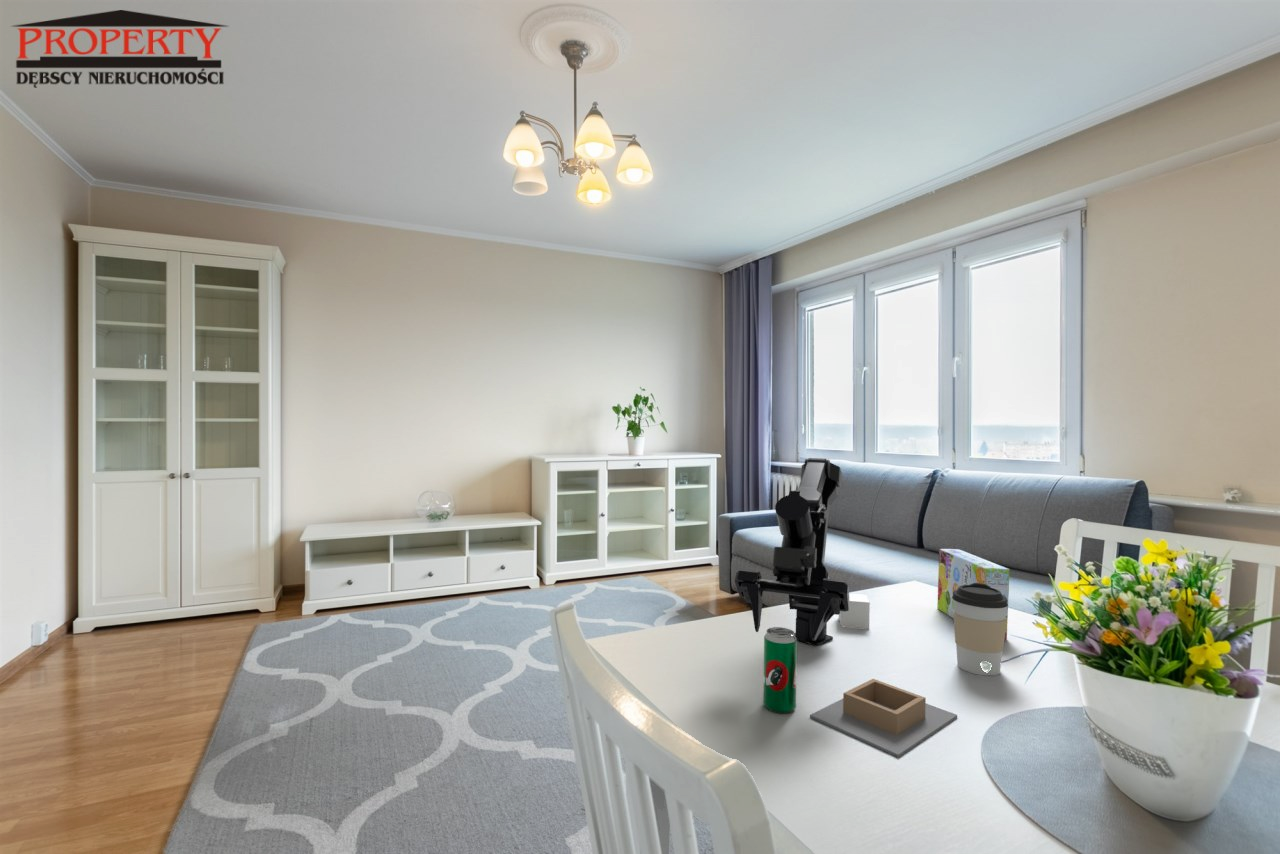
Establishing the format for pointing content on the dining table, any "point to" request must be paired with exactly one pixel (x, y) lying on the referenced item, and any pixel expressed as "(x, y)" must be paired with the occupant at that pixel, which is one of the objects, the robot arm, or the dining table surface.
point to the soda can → (780, 670)
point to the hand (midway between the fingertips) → (784, 635)
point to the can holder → (884, 717)
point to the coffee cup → (979, 627)
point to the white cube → (856, 612)
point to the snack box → (967, 577)
